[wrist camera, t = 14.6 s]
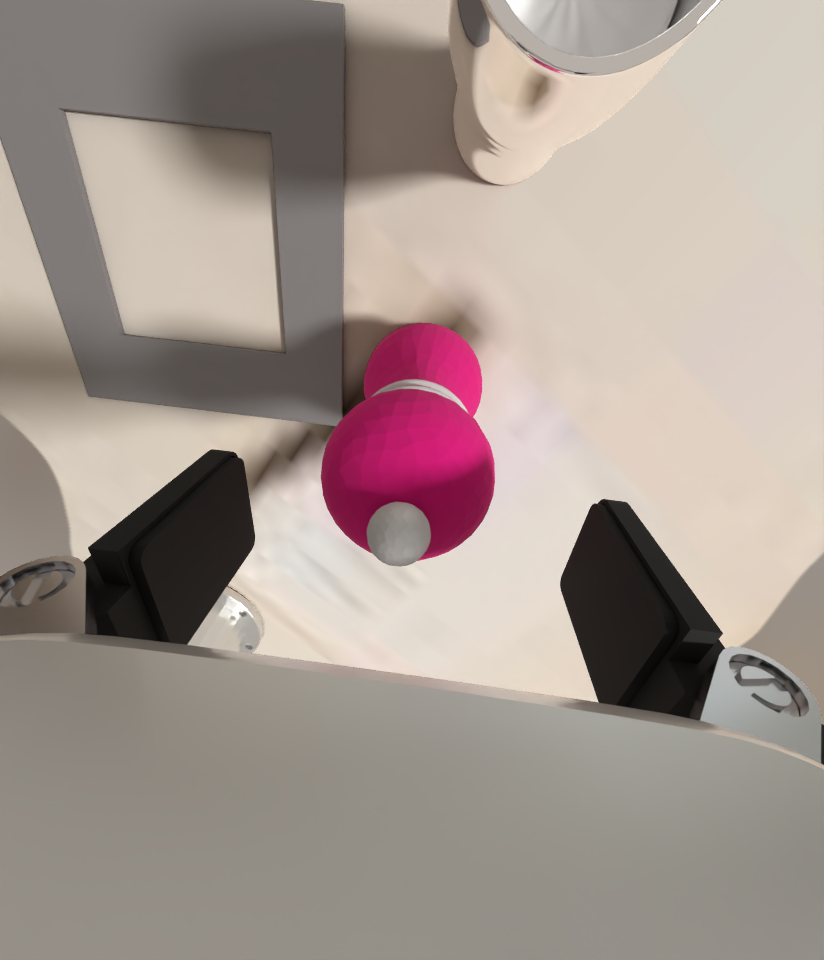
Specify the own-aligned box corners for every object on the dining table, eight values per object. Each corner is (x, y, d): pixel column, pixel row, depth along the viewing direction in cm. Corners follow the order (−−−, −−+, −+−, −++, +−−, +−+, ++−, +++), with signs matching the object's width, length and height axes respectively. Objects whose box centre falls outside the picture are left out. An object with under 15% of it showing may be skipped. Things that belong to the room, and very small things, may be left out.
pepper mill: (355, 360, 27) (198, 529, 10) (435, 290, 24) (417, 349, 7) (417, 434, 30) (382, 674, 12) (496, 378, 27) (594, 580, 10)
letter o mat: (342, 424, 30) (341, 426, 29) (92, 394, 30) (88, 396, 29) (345, 8, 19) (343, 4, 18) (-51, -34, 19) (-60, -39, 18)
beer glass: (463, 215, 22) (492, 143, 9) (428, 58, 19) (398, -378, 6) (585, 164, 21) (823, -5, 8) (569, -14, 18) (917, -789, 5)
